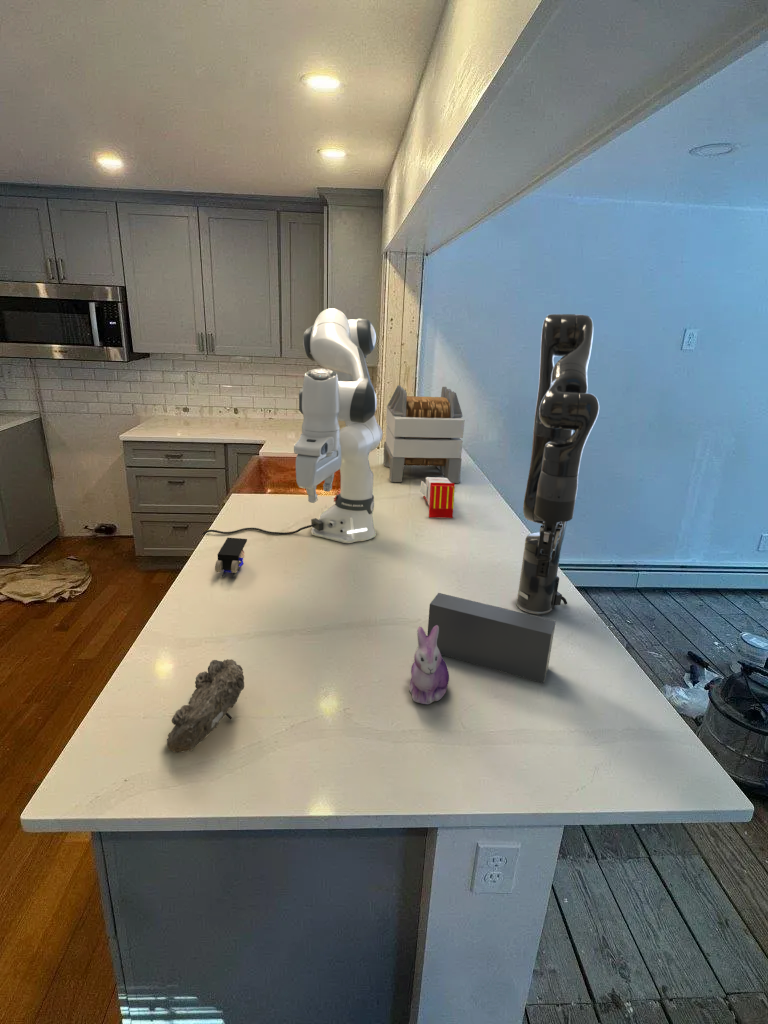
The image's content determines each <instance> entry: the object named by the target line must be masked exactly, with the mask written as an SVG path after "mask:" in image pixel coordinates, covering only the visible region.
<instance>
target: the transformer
mask: <svg viewBox="0 0 768 1024" xmlns="http://www.w3.org/2000/svg"><path fill="white" fill-rule="evenodd" d="M440 393H441V394H440V396H415V395H414V396H413V395H412V396H411V395H407V394H408V393H407V390H406V389H404V388H403V387H402V385H399V384H398V385H397V386H396V388H395V390H394V392H393V394H392V395H391V398H390V400H389V402H388V404H387V405H386V413H385V414H386V415H385V423H386V428H385V438H384V442H383V466H384V467H388V468H389V475H388V476H389V477H388V478H389V480H390V482H391V483H402V482H403V475H404V469H405V466H406V467H407V466H411V467H412V466H413V467H415V466H416V467H417V466H418V467H436V468H437V470H438V469H439V473H440V474H441V475H443V476H442V477H443V478H447V479H448V480H449V481H450V482H451V483H456V484H459V483H461V472H462V461H463V460H462V453H463V442H464V441H463V440H462V439H463V438H464V431H465V430H464V429H465V419H464V418H463V411H462V408H461V405H460V402H459V398H458V395H457V392H455V391H453V390H452V389H451V388H447V386H442V387H441V392H440Z"/></svg>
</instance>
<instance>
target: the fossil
mask: <svg viewBox="0 0 768 1024" xmlns="http://www.w3.org/2000/svg"><path fill="white" fill-rule="evenodd" d="M243 670H244V669H243V667H242V665H240V664H237V662H236V661H235V660H234V659H232V658H231V659H227V658H226V659H224V660H223V661H222V660H217V659H212V660H211V661H210V663H209V665H208V666H207V671H201V672H199V673H198V674H197V675H196V676H195V680H194V684H195V685H194V687H195V689H194V690H193V693H192V694H191V697H190V698H189V700H188V704H184V705H182V706H181V707H180V709H177V710H176V711H175V713H174V715H173V716H172V718H171V723H172V724H173V727H172V730H171V731H170V732H168V734H167V738H166V741H167V742H166V745H167V749H168V750H169V751H173V752H174V753H176V754H178V753H182V752H188V751H189V752H192V751H193V750H195V748H196V747H197V746H199V744H200V743H201V742H203V741H204V740H205V739H206V738H207V737H208V736H209V735H210V734H211V733H212V732H214V730H215V729H217V727H218V726H219V724H220V722H221V721H222V720H223V719H224V718H225V716H226V717H227V719H229V720H233V717H232V715H230V714H229V710H230V709H231V708H234V706H235V704H236V703H237V702H238V699H239V697H240V695H241V693H242V691H243V690H245V689H244V688H245V675H244V671H243Z"/></svg>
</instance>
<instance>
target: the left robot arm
mask: <svg viewBox="0 0 768 1024" xmlns="http://www.w3.org/2000/svg"><path fill="white" fill-rule="evenodd" d="M302 335H303V338H302V348H303V349H304V350H303V351H304V352H305V355H306V356H307V358H308V359H309V360H310V361H312V362H315V363H316V364H318V365H319V367H320V366H321V367H322V368H313V369H309V370H307V371H306V372H305V373H304V375H303V383H302V387H301V388H300V389H299V391H298V411H299V412H300V413H301V414H302V416H303V417H302V419H303V420H302V424H301V434H300V436H299V438H298V440H297V441H296V442H295V444H294V445H293V454H295V455H296V457H295V480H296V484H297V486H298V488H300V489H305V491H306V494H307V498H308V499H307V500H308V502H309V503H310V504H315V503H317V502H318V500H319V499H318V497H319V495H318V493H317V487H318V485H320V484H321V483H322V482H324V483H323V485H322V487H323V488H322V490H323V491H324V492H331V491H332V489H333V481H334V478H335V473H336V472H338V471H339V473H340V475H339V476H340V488H339V489H340V490H339V491H338V492H337V494H336V495H335V496H334V497H333V502H334V504H333V505H331V506H329V507H328V508H326V509H325V510H323V512H321V514H320V515H319V517H318V518H316V517H315V518H311V519H310V520H311V521H310V522H311V523H310V524H308V525H305V526H303V527H300V528H298V529H297V530H294V531H286V532H281V531H280V532H279V531H268V530H265V529H262V528H260V527H259V528H258V527H244V528H239V529H237V530H232V531H221V530H218V529H208V530H205V531H204V532H202V534H201V535H203V536H205V535H206V534H207V533H215V534H222V535H231V534H237V533H240V532H243V531H258V532H261V533H264V534H268V535H278V536H279V535H284V536H285V535H294V534H296V533H299V532H300V531H303V530H306V529H309V528H311V530H310V533H311V536H315V537H319V538H323V539H326V540H330V541H336V542H339V543H343V544H352V543H357V542H365V541H368V540H372V539H373V538H375V537H376V535H377V532H376V528H375V523H374V513H373V512H374V509H375V496H374V473H373V471H372V469H371V465H370V460H369V455H370V453H371V452H372V451H374V450H376V449H377V448H378V447H379V445H380V444H381V442H382V440H383V435H384V433H383V430H382V427H381V425H380V424H379V423H378V422H377V418H376V416H375V414H376V412H377V411H376V410H377V407H378V399H377V394H376V391H375V388H374V385H373V383H372V381H371V377H370V372H369V368H368V365H367V361H366V359H367V357H368V355H370V354H371V353H373V351H374V349H375V347H376V342H377V333H376V330H375V327H374V325H373V323H372V321H371V320H369V319H368V318H359V317H357V319H348V317H347V316H346V314H345V313H343V311H341V310H340V309H337V308H333V307H332V308H331V307H330V308H325V309H324V310H322V311H321V312H320V313H318V315H317V317H316V318H315V321H314V322H313V325H311V326H309V327H307V328H306V330H305V331H304V332H303V334H302ZM340 422H344V424H345V426H344V427H341V428H340Z"/></svg>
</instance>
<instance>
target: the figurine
mask: <svg viewBox="0 0 768 1024" xmlns="http://www.w3.org/2000/svg"><path fill="white" fill-rule="evenodd" d="M416 633H417V634H416V635H417V648H416V650H415V652H414V656H413V658H414V662H413V663H412V665H411V668H410V669H411V670H410V675H411V677H410V680H409V684H408V685H409V687H408V690H409V693H410V694H411V698H412V701H413V702H414V703H418V704H422V705H430V704H433V702H438V701H440V700H441V699H443V697H444V696H445V694H446V693H447V690H448V685H449V681H450V673H449V668H448V665H447V663H446V661H445V659H444V658H443V657H442V656H443V655H441V653H440V651H439V649H438V647H437V638H438V633H439V627H438V625H436V626H434V627H433V629H432V630H431V632H430V634H429V636H427V634H426V632H425V630H424V628H423V627H422V626H418V627H417V631H416Z"/></svg>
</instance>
